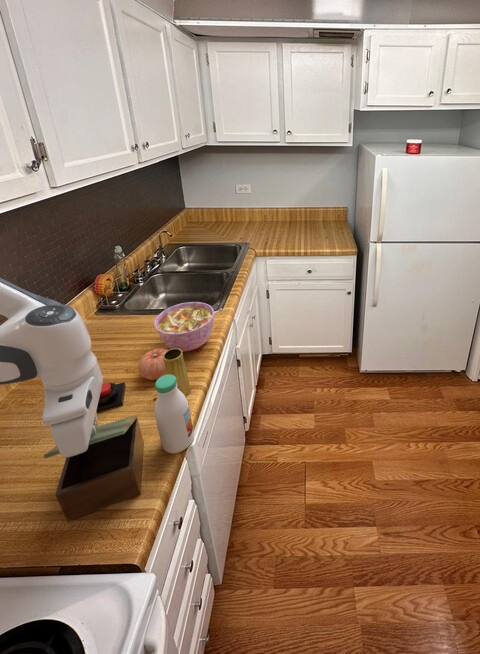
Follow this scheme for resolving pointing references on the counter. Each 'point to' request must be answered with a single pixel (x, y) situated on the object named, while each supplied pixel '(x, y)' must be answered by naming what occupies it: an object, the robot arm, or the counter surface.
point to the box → (102, 474)
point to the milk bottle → (172, 415)
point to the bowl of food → (185, 325)
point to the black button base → (112, 397)
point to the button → (105, 389)
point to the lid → (103, 433)
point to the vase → (177, 369)
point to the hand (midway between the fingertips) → (92, 430)
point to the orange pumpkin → (153, 364)
